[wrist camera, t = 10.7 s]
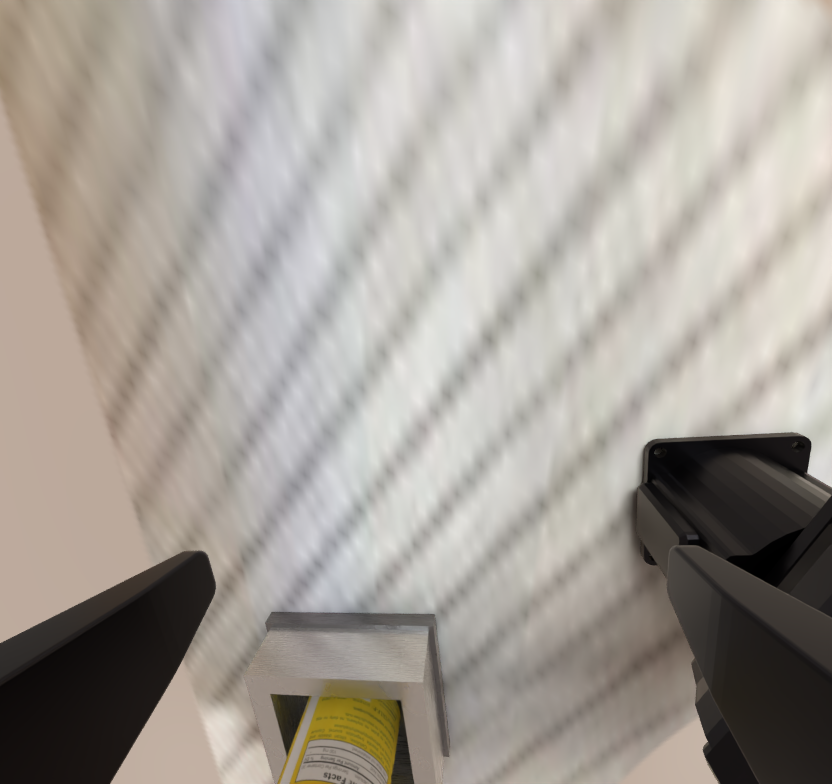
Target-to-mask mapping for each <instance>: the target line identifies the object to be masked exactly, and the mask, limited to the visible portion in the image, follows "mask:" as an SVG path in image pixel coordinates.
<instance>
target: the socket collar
mask: <svg viewBox="0 0 832 784" xmlns="http://www.w3.org/2000/svg"><path fill="white" fill-rule="evenodd" d="M265 624H266V627H267V631H268V634H267V635H266V637H265V639H264V641H263V643H262V644H261V646H260V648H259V650H258V651H257V653H256V655H255V657H254V658H253V660H252V662H251V664H250V665H249V667H248V669H247V671H246V673H245V674H244V678H245V681H246V685H247V688H248V692H249V695H250V699H251V702H252V706H253V709H254V713H255V716H256V720H257V723H258V727H259V730H260V734H261V737H262V741H263V744H264V748H265V751H266V755H267V758H268V762H269V765H270V769H271V772H272V776H273V779H274V783H275V784H277V783H278V780H279V777H280V775H281V772H282V769H283V766H284V764H285V761H286V758H287V756H288V753H289V750H290V748H291V745H292V742H293V739H294V737H295V734H296V731H297V729H298V726H299V723H300V721H301V718H302V715H303V712H304V710H305V707H306V704H307V701H308V699H309V696H322V697H343V698H365V699H386V700H401V702H402V710H401V719H400V726H399V733H398V740H397V746H396V753H395V760H394V767H393V774H392V781H391V784H442V779H443V760H444V756H446V757H449V749H450V740H449V732H448V723H447V715H446V706H445V698H444V689H443V681H442V672H441V664H440V655H439V647H438V638H437V630H436V622H435V615H433V614H362V613H291V612H272V613H271V614H270V616H269V618H268V619H267V621H266V623H265Z"/></svg>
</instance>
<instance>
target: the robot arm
mask: <svg viewBox="0 0 832 784" xmlns="http://www.w3.org/2000/svg"><path fill="white" fill-rule="evenodd" d="M795 442H798V443H797V445H796V446H795V447H794V448H791V447H792V445H793V444H794V443H795ZM660 447H661V448H662V452H660V453H659V454H654V452H655V450H656V449H657V448H660ZM810 452H811V441H810V440H809V439H808V438H807V437H805V436H803V435H801V434H798V433H793V432H792V433H771V434H751V435H730V436H710V437H689V438H668V439H655V440H652V441H650V442H648V444H647V445H646V447H645V456H644V479H643V483H641V485H640V486H639V487H638V496H637V520H636V532H637V534H638V536H639V537H640V539H641V546H640V552H641V556H642V557H643V559H644V560H645V562H646V563H648V564H650V565H658V566H659V568H660V569H661V571H662V572H663V574H664V575H665V577H666V578H667V591H668V595H669V598H670V601H671V603H672V606H673V608H674V610H675V613H676V615H677V617H678V620H679V622H680V624H681V627H682V629H683V631H684V634H685V636H686V638H687V641H688V643H689V645H690V648H691V650H692V652H693V654H694V657H695V659H694V660H693V661H692V663H691V665H692V669H693V673H694V678H695V682H696V686H697V687H696V701H695V705H696V709H697V712H698V715H699V718H700V721H701V724H702V727H703V730H704V733H705V736H706V738H707V740H708V742H707V743H706V744H705V745H704V747H703V752H704V755H705V758H706V761H707V763H708V765H709V767H710V769H711V771H712V772H713V774H714V776H715V778H716V779H717V781H718V783H719V784H832V488H831V487H830V486H828V485H826V484H824V483H823V482H821V481H819V480H818V479H816V478H814V477H812V476H811V475H809V474H807V470H808V464H809V458H810ZM650 554H651V555H652V556H650ZM215 589H216V582H215V579H214V575H213V572H212V568H211V565H210V561H209V558H208V555H207V554H206V553H205V552H204V551H184V552H182V553H180V554H178V555H176V556H174V557H172V558H170V559H168V560H166V561H164V562H162V563H160V564H158V565H156V566H154V567H152V568H150V569H148V570H146V571H144V572H142V573H140V574H138V575H136V576H134V577H132V578H130V579H128V580H126V581H124V582H122V583H120V584H118V585H116V586H114V587H112V588H110V589H108V590H106V591H104V592H102V593H100V594H98V595H96V596H94V597H92V598H90V599H88V600H86V601H84V602H82V603H80V604H78V605H76V606H74V607H72V608H70V609H68V610H66V611H64V612H62V613H60V614H58V615H56V616H54V617H52V618H50V619H48V620H46V621H44V622H42V623H40V624H38V625H36V626H34V627H32V628H30V629H28V630H26V631H24V632H22V633H20V634H18V635H16V636H14V637H12V638H10V639H8V640H6V641H4V642H2V643H0V784H110V783H111V781H112V780H113V778H114V776H115V775H116V773H117V771H118V770H119V768H120V766H121V764H122V763H123V761H124V760H125V758H126V756H127V755H128V753H129V751H130V749H131V748H132V746H133V744H134V743H135V741H136V739H137V738H138V736H139V734H140V733H141V731H142V729H143V728H144V726H145V724H146V723H147V721H148V719H149V718H150V716H151V714H152V712H153V711H154V709H155V707H156V706H157V704H158V702H159V701H160V699H161V697H162V696H163V694H164V692H165V691H166V689H167V687H168V685H169V684H170V682H171V680H172V679H173V677H174V675H175V673H176V671H177V669H178V667H179V666H180V664H181V662H182V660H183V658H184V656H185V654H186V652H187V650H188V648H189V646H190V644H191V642H192V639H193V637H194V635H195V633H196V631H197V629H198V627H199V625H200V623H201V621H202V619H203V617H204V615H205V613H206V611H207V609H208V607H209V605H210V603H211V601H212V599H213V597H214V594H215Z"/></svg>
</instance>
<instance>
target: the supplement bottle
mask: <svg viewBox="0 0 832 784" xmlns="http://www.w3.org/2000/svg"><path fill="white" fill-rule="evenodd" d="M401 710H402V702H401V700H386V699H365V698H343V697H322V696H309V699H308V701H307V704H306V707H305V710H304V712H303V715H302V718H301V721H300V723H299V726H298V729H297V731H296V734H295V737H294V739H293V742H292V745H291V748H290V750H289V753H288V756H287V758H286V761H285V764H284V766H283V769H282V772H281V775H280V777H279V780H278V783H277V784H391V781H392V774H393V767H394V760H395V753H396V746H397V740H398V733H399V726H400V719H401Z"/></svg>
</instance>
